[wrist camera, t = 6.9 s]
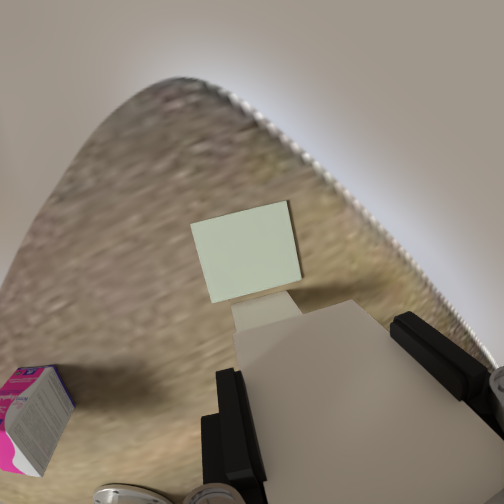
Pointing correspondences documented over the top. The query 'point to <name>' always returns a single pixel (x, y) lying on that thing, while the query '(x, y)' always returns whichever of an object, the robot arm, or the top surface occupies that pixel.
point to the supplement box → (32, 419)
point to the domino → (264, 311)
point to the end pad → (247, 251)
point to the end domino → (359, 417)
